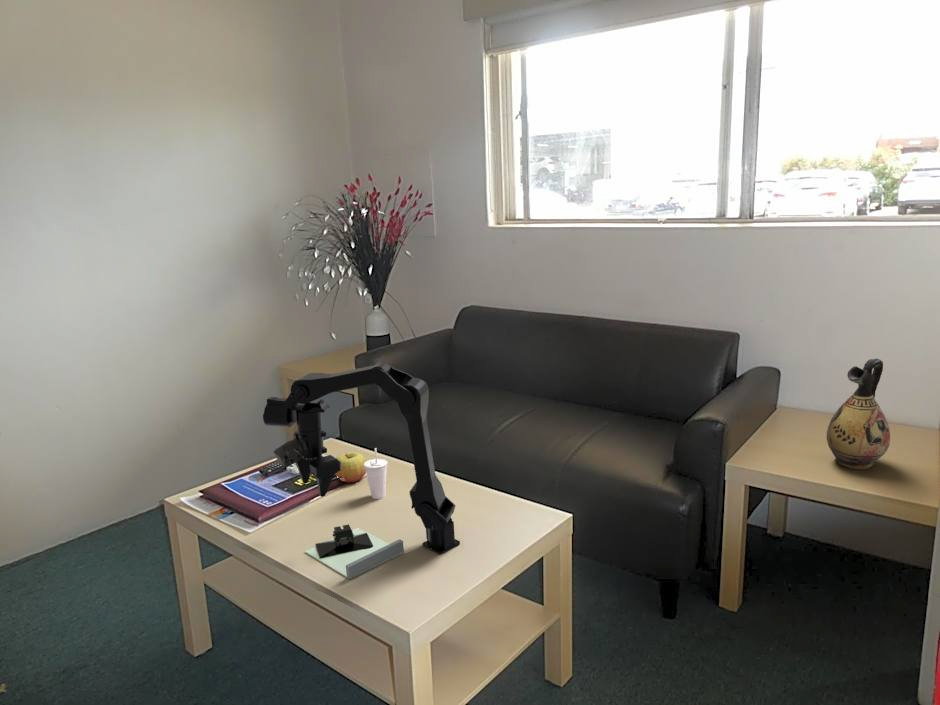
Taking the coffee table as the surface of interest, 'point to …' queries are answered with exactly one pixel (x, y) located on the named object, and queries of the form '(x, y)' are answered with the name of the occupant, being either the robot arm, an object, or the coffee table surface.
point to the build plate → (343, 542)
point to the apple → (351, 466)
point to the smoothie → (376, 476)
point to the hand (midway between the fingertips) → (314, 489)
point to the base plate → (360, 556)
